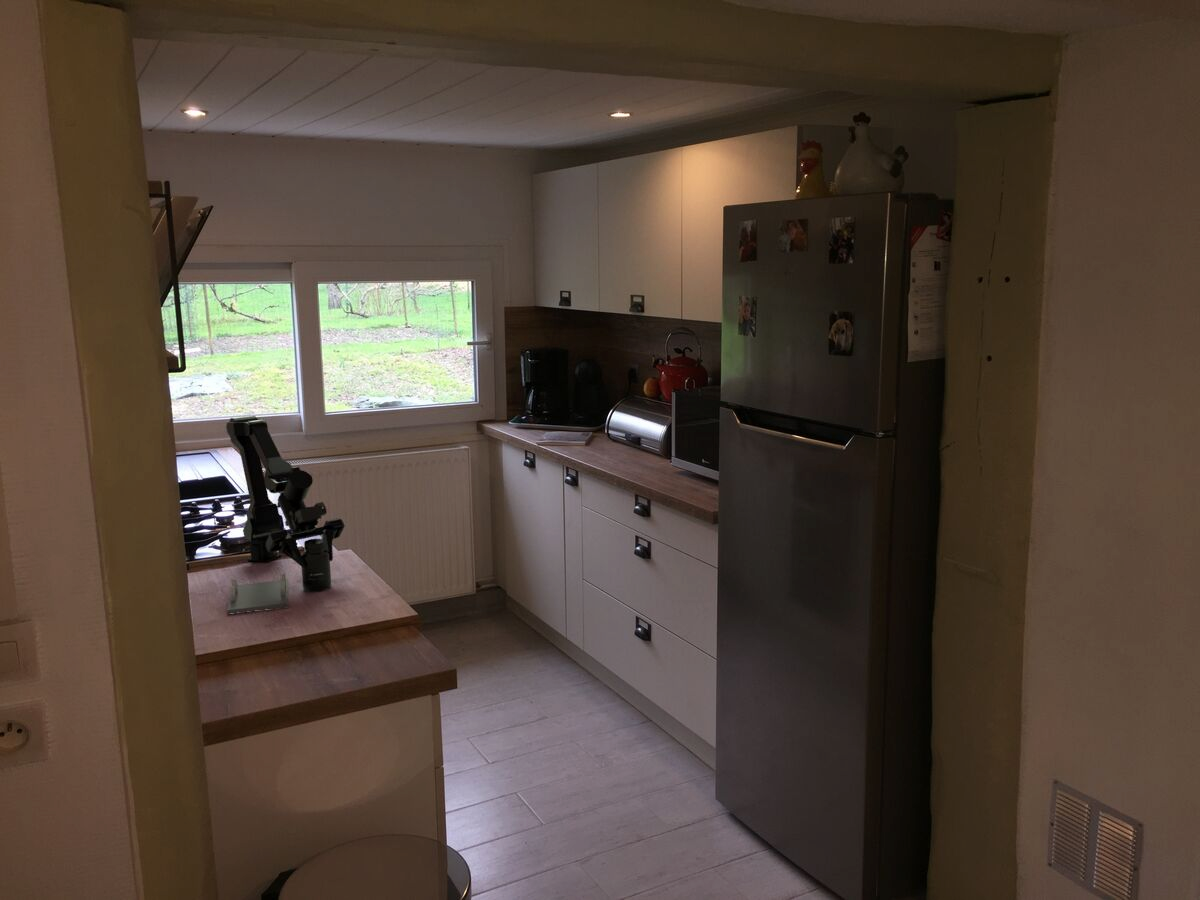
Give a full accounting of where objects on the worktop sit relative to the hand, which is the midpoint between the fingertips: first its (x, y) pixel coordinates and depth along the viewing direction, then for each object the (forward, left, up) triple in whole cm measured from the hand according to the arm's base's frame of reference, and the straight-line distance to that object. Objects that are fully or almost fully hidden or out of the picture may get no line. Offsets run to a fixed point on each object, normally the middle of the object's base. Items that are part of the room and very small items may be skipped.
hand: (318, 563), depth 237 cm
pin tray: (+11, -9, -7) cm, 16 cm away
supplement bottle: (-1, -1, -7) cm, 7 cm away
